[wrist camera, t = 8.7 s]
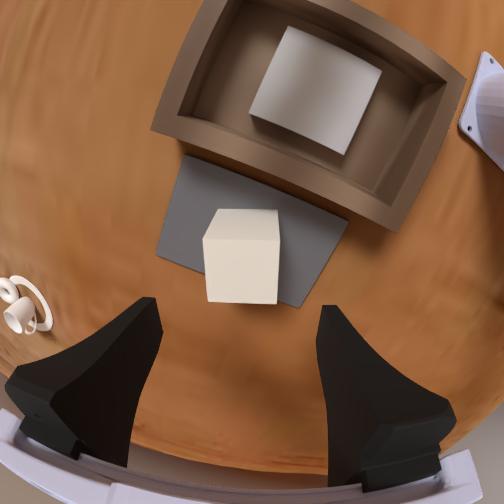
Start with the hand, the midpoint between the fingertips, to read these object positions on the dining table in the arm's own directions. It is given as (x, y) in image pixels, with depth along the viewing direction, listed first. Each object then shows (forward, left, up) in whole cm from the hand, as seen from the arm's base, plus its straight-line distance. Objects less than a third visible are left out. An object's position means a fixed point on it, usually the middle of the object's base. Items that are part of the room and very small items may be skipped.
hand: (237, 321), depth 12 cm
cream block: (0, 0, -9) cm, 9 cm away
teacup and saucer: (+22, +15, -10) cm, 28 cm away
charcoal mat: (0, 0, -9) cm, 9 cm away
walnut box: (0, -11, -9) cm, 14 cm away
